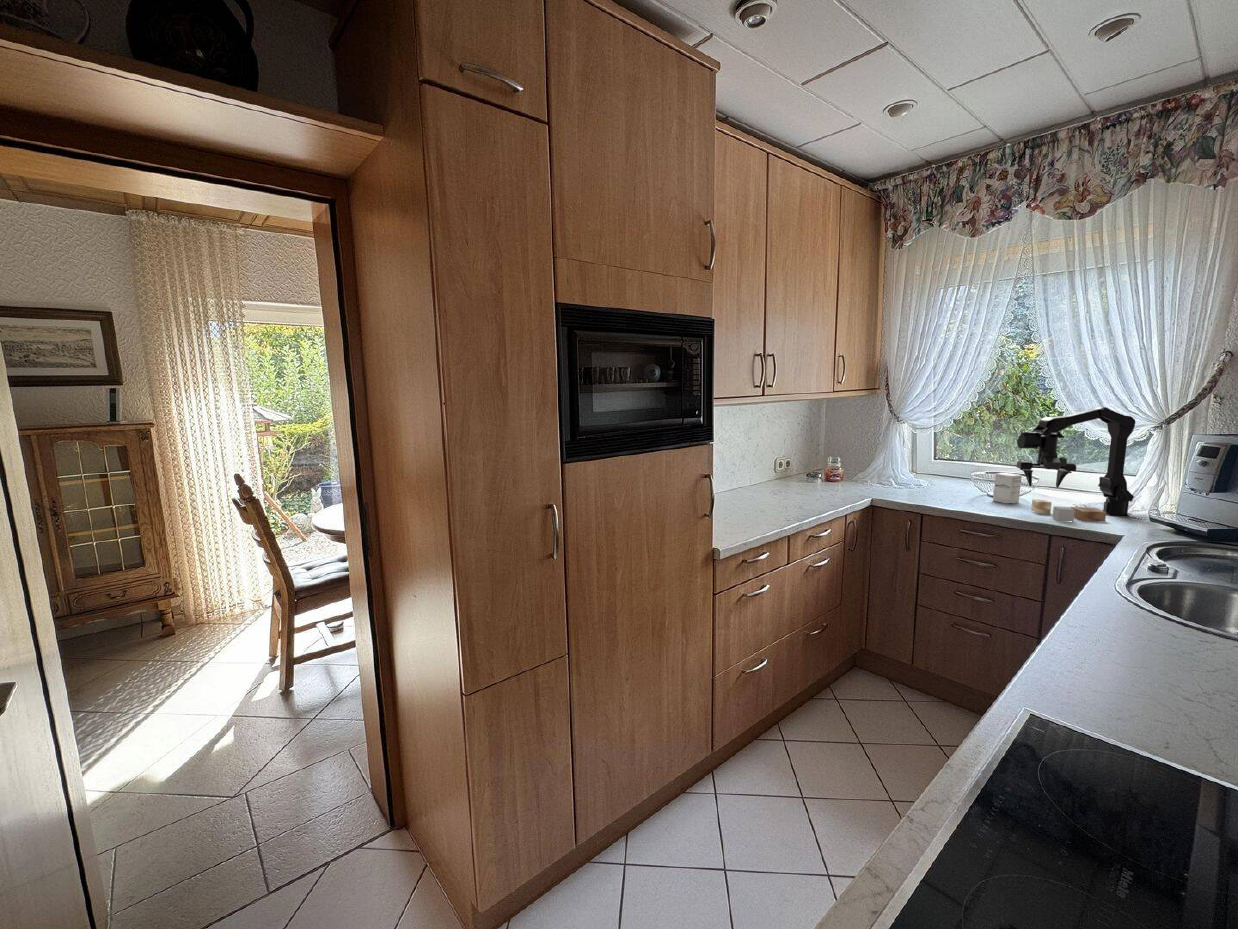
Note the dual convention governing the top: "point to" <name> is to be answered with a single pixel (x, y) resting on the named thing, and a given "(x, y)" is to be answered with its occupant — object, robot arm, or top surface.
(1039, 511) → the birch cube
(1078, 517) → the walnut block
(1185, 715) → the top surface
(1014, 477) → the supplement box
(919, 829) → the top surface
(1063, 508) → the grey plastic cube
